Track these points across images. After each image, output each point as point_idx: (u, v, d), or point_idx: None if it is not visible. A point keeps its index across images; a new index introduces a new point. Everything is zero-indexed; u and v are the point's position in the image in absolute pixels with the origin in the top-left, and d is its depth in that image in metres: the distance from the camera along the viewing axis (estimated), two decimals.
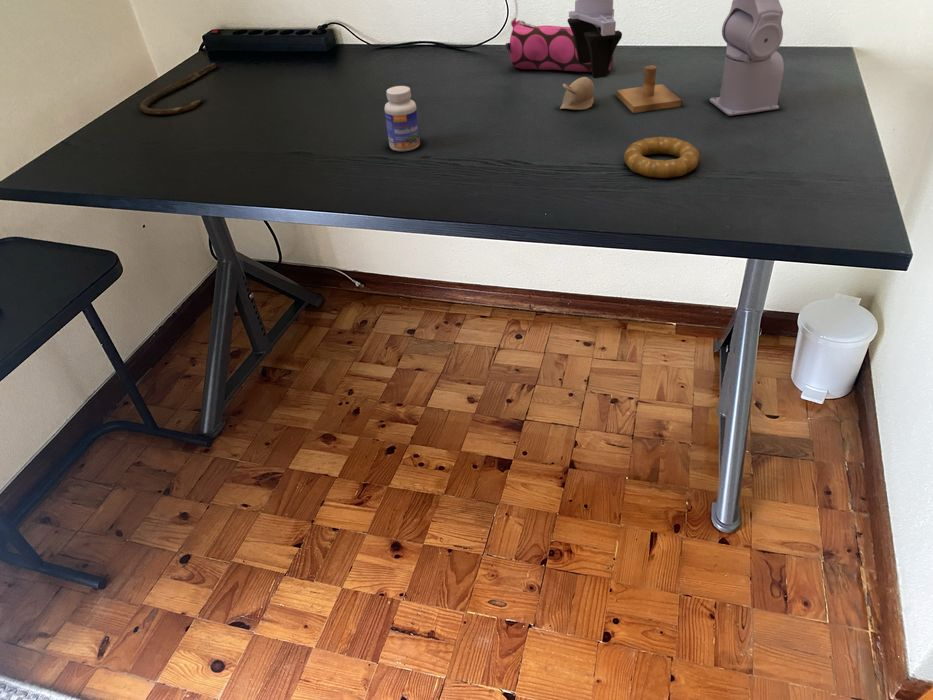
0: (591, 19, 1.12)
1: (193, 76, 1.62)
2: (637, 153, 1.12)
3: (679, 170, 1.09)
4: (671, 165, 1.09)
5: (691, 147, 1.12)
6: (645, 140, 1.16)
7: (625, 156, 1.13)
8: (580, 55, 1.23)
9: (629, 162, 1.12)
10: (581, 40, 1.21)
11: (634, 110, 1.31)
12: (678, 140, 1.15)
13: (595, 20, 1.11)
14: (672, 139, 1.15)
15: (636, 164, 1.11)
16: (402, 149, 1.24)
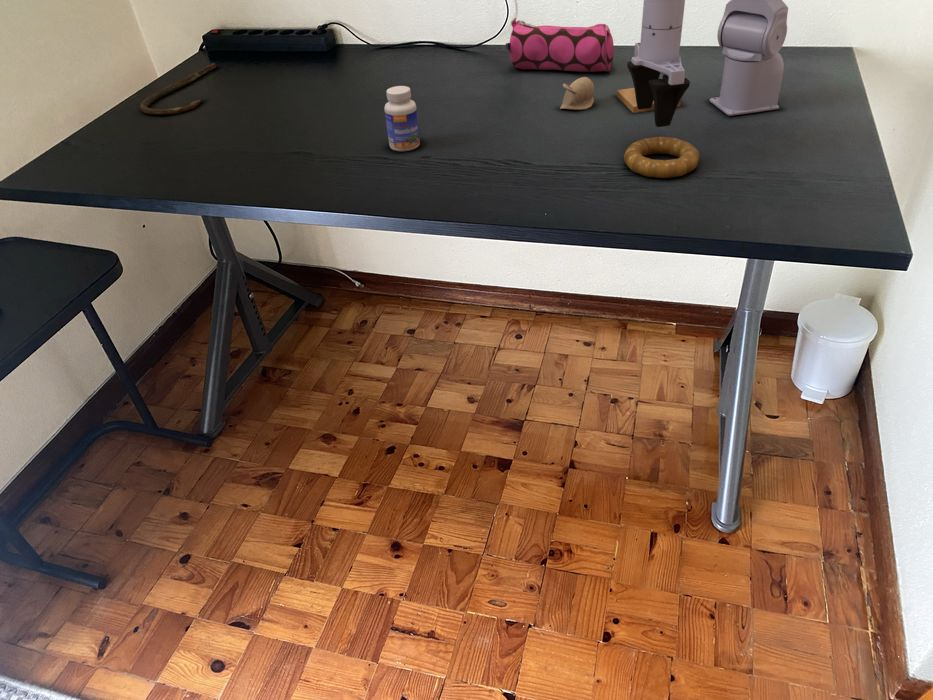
0: (657, 66, 1.05)
1: (193, 76, 1.62)
2: (637, 153, 1.12)
3: (679, 170, 1.09)
4: (671, 165, 1.09)
5: (691, 147, 1.12)
6: (645, 140, 1.16)
7: (625, 156, 1.13)
8: (639, 100, 1.16)
9: (629, 162, 1.12)
10: (641, 85, 1.14)
11: (634, 110, 1.31)
12: (678, 140, 1.15)
13: (662, 68, 1.04)
14: (672, 139, 1.15)
15: (636, 164, 1.11)
16: (402, 149, 1.24)
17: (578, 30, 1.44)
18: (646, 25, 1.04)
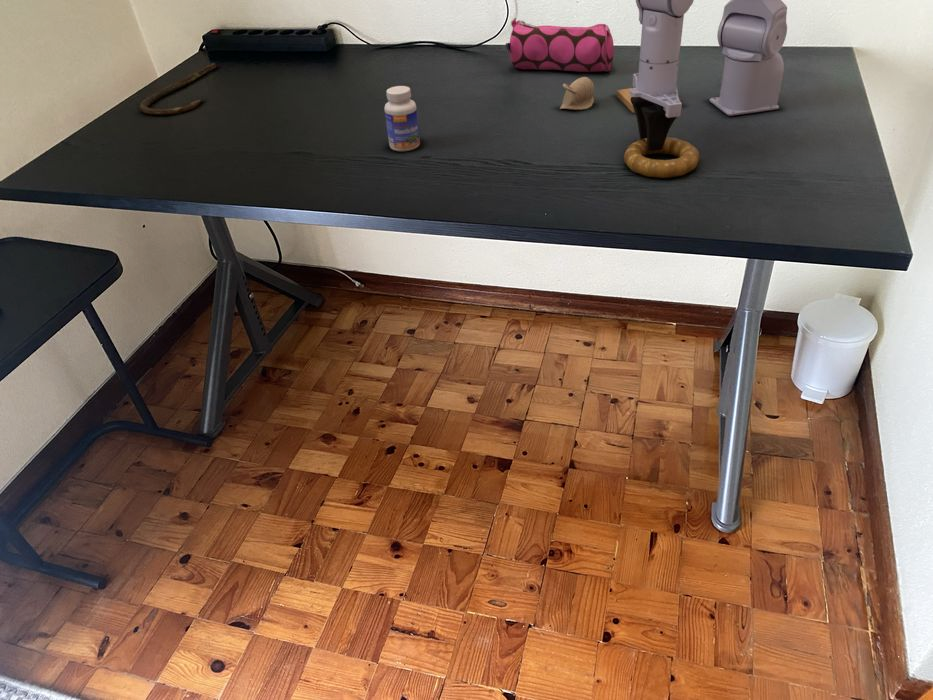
0: (655, 99, 1.08)
1: (193, 76, 1.62)
2: (637, 153, 1.12)
3: (678, 170, 1.09)
4: (671, 165, 1.09)
5: (691, 147, 1.12)
6: (645, 140, 1.16)
7: (625, 156, 1.13)
8: (642, 134, 1.17)
9: (629, 162, 1.12)
10: (644, 119, 1.15)
11: (634, 110, 1.31)
12: (678, 140, 1.15)
13: (659, 101, 1.07)
14: (672, 139, 1.15)
15: (636, 164, 1.11)
16: (402, 149, 1.24)
17: (578, 30, 1.44)
18: (644, 59, 1.07)
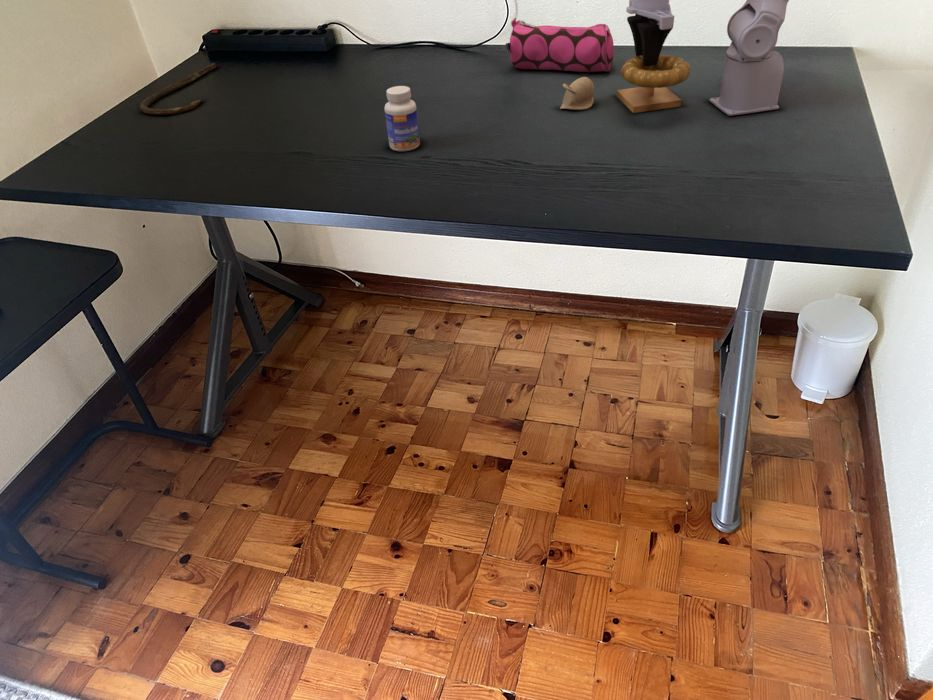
0: (650, 14, 1.18)
1: (193, 76, 1.62)
2: (633, 66, 1.22)
3: (671, 79, 1.19)
4: (665, 75, 1.19)
5: (683, 61, 1.23)
6: (640, 56, 1.26)
7: (622, 70, 1.23)
8: (638, 52, 1.27)
9: (626, 74, 1.22)
10: (640, 38, 1.26)
11: (634, 110, 1.31)
12: (670, 56, 1.25)
13: (654, 15, 1.17)
14: (665, 55, 1.25)
15: (633, 75, 1.21)
16: (402, 149, 1.24)
17: (578, 30, 1.44)
18: None
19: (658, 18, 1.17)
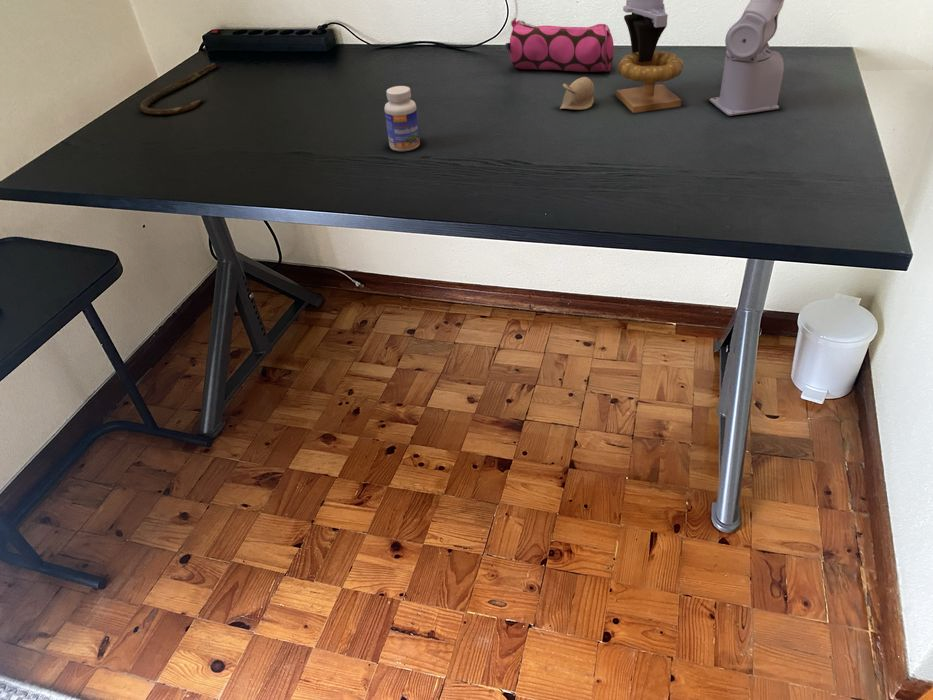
0: (645, 12, 1.25)
1: (193, 76, 1.62)
2: (629, 62, 1.30)
3: (665, 74, 1.27)
4: (659, 70, 1.26)
5: (676, 57, 1.30)
6: (636, 53, 1.33)
7: (619, 65, 1.31)
8: (634, 49, 1.35)
9: (622, 70, 1.30)
10: (636, 35, 1.33)
11: (634, 110, 1.31)
12: (665, 52, 1.32)
13: (648, 13, 1.25)
14: (659, 52, 1.33)
15: (629, 71, 1.28)
16: (402, 149, 1.24)
17: (578, 30, 1.44)
18: None
19: (652, 16, 1.24)
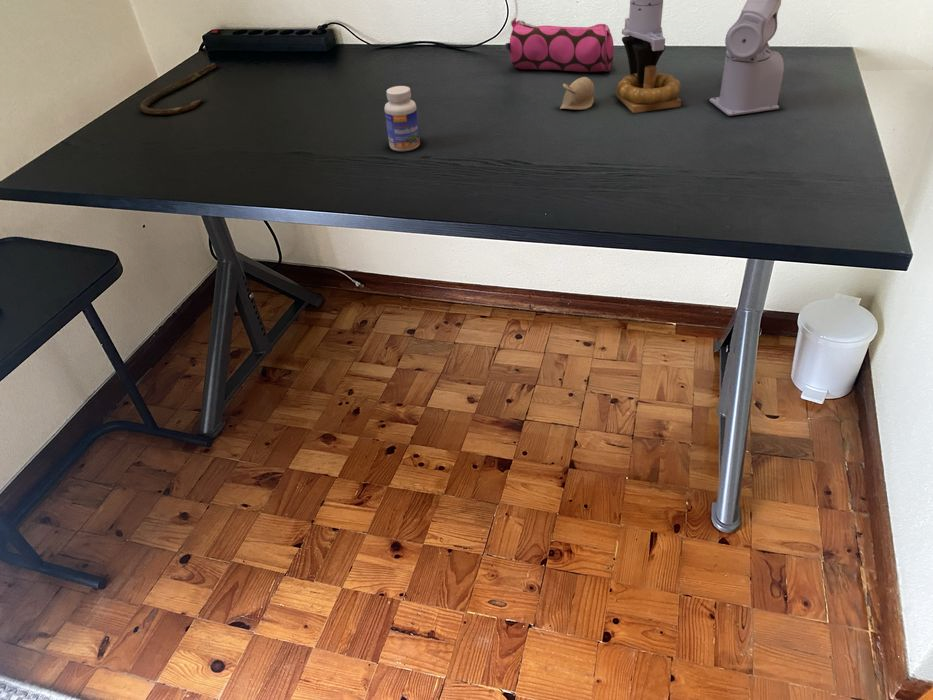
0: (643, 36, 1.28)
1: (193, 76, 1.62)
2: (628, 84, 1.32)
3: (663, 96, 1.29)
4: (657, 92, 1.29)
5: (673, 79, 1.33)
6: (635, 74, 1.36)
7: (618, 87, 1.33)
8: (632, 69, 1.37)
9: (621, 91, 1.32)
10: (634, 56, 1.36)
11: (634, 110, 1.31)
12: (662, 74, 1.35)
13: (646, 37, 1.27)
14: (657, 73, 1.35)
15: (627, 92, 1.31)
16: (402, 149, 1.24)
17: (578, 30, 1.44)
18: None
19: (650, 40, 1.27)
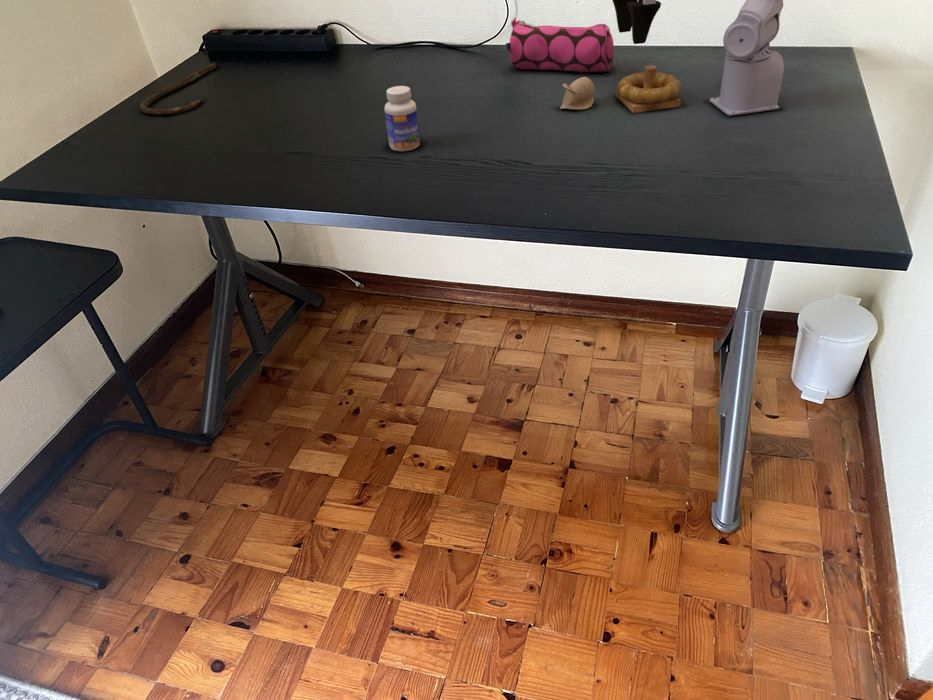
0: None
1: (193, 76, 1.62)
2: (628, 84, 1.32)
3: (663, 96, 1.29)
4: (657, 92, 1.29)
5: (673, 79, 1.33)
6: (635, 74, 1.36)
7: (618, 87, 1.33)
8: (620, 24, 1.37)
9: (621, 91, 1.32)
10: (622, 11, 1.36)
11: (634, 110, 1.31)
12: (662, 74, 1.35)
13: None
14: (657, 73, 1.35)
15: (627, 92, 1.31)
16: (402, 149, 1.24)
17: (578, 30, 1.44)
18: None
19: None
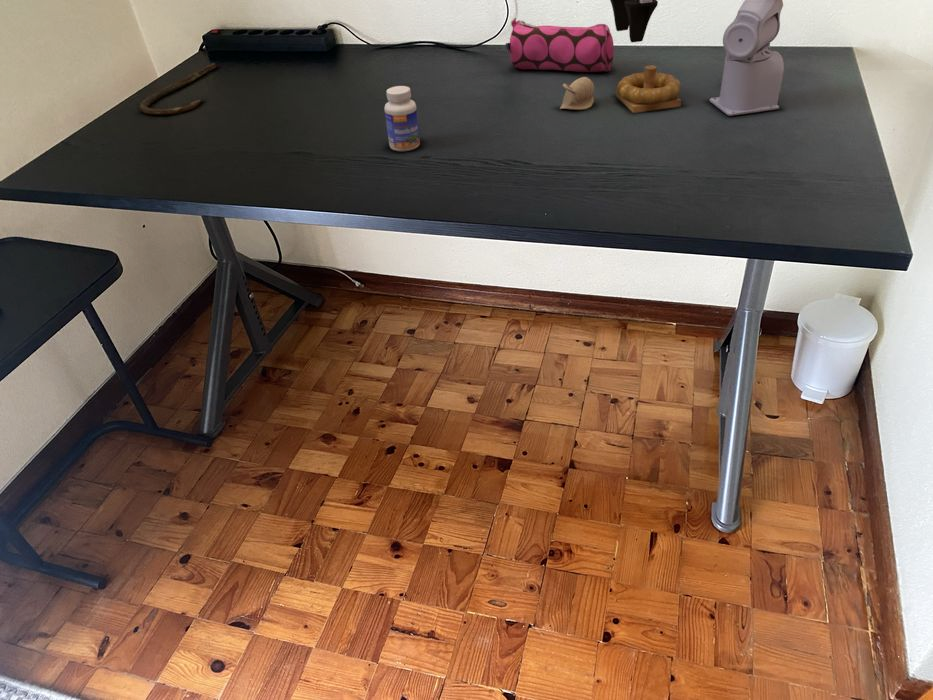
0: None
1: (193, 76, 1.62)
2: (628, 84, 1.32)
3: (663, 96, 1.29)
4: (657, 92, 1.29)
5: (673, 79, 1.33)
6: (635, 74, 1.36)
7: (618, 87, 1.33)
8: (618, 23, 1.38)
9: (621, 91, 1.32)
10: (619, 9, 1.37)
11: (634, 110, 1.31)
12: (662, 74, 1.35)
13: None
14: (657, 73, 1.35)
15: (627, 92, 1.31)
16: (402, 149, 1.24)
17: (578, 30, 1.44)
18: None
19: None
